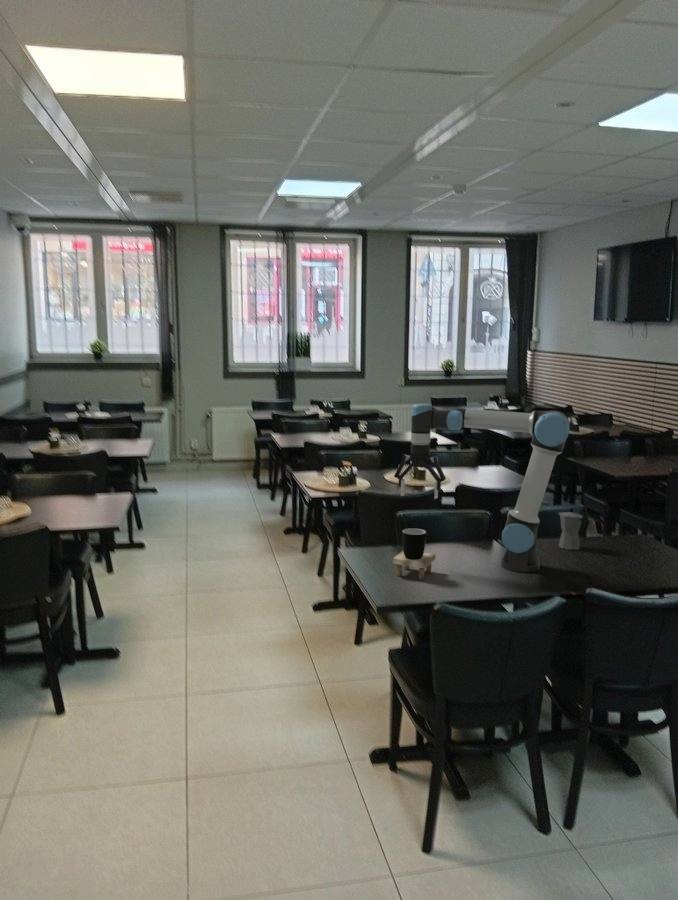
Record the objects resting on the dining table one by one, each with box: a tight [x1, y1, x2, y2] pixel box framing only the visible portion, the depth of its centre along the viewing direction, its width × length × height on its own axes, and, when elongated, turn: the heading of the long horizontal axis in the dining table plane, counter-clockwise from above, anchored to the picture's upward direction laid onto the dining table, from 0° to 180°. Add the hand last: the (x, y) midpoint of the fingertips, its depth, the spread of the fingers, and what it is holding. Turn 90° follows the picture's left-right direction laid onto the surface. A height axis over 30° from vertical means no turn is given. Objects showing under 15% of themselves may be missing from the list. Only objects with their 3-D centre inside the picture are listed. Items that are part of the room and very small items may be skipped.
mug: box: [401, 528, 427, 560], centre depth 270 cm, size 12×9×10 cm
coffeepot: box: [557, 507, 590, 550], centre depth 309 cm, size 15×9×18 cm, turn 37°
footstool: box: [392, 550, 437, 581], centre depth 271 cm, size 13×13×7 cm
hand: (419, 496), depth 279 cm, fingers open, 13 cm apart
